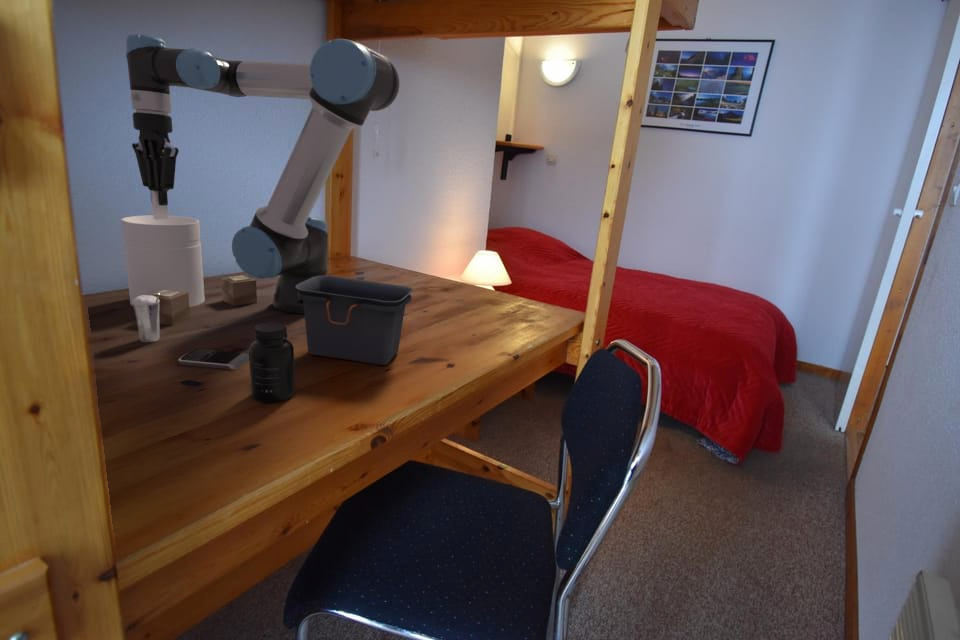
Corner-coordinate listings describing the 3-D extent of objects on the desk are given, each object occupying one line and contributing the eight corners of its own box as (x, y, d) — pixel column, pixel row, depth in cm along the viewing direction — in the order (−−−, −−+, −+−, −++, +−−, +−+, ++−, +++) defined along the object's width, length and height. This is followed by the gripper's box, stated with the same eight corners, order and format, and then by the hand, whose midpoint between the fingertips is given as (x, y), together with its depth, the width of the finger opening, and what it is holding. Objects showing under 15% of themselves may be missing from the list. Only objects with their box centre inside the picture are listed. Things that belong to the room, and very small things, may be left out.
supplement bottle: (258, 385, 92) (255, 319, 88) (299, 387, 93) (298, 321, 89) (244, 403, 85) (241, 332, 82) (288, 405, 86) (287, 334, 82)
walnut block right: (256, 302, 138) (256, 279, 136) (233, 306, 133) (232, 281, 131) (245, 297, 141) (244, 274, 139) (222, 300, 137) (221, 276, 135)
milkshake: (154, 345, 104) (149, 296, 102) (131, 341, 105) (125, 292, 102) (172, 338, 109) (167, 291, 106) (149, 334, 110) (144, 287, 107)
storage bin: (414, 350, 115) (417, 285, 110) (392, 377, 100) (395, 304, 96) (319, 337, 117) (319, 273, 113) (285, 362, 102) (283, 290, 98)
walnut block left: (190, 318, 122) (188, 291, 120) (173, 325, 116) (170, 297, 114) (165, 315, 122) (162, 288, 121) (147, 322, 117) (144, 294, 115)
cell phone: (194, 355, 103) (194, 348, 103) (251, 360, 103) (250, 353, 103) (175, 366, 97) (175, 359, 97) (236, 372, 97) (235, 365, 97)
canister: (116, 300, 130) (107, 217, 124) (181, 289, 143) (175, 214, 137) (153, 314, 122) (144, 226, 116) (218, 302, 135) (213, 222, 129)
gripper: (116, 109, 119) (127, 216, 126) (154, 112, 114) (164, 223, 121) (149, 113, 125) (158, 214, 132) (187, 116, 120) (194, 221, 127)
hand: (160, 218), depth 126 cm, fingers closed
